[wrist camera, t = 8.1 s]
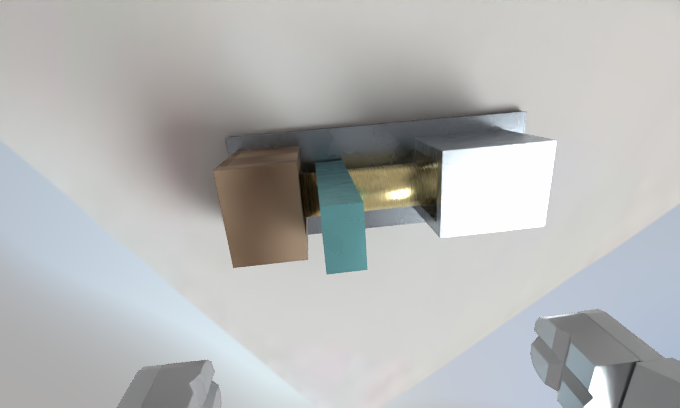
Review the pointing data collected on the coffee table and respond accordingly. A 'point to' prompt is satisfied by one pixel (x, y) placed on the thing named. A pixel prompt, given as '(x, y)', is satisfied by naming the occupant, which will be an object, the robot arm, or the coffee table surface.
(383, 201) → the rod
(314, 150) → the grey base plate
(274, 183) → the socket
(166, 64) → the coffee table surface
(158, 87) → the coffee table surface
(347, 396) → the coffee table surface
